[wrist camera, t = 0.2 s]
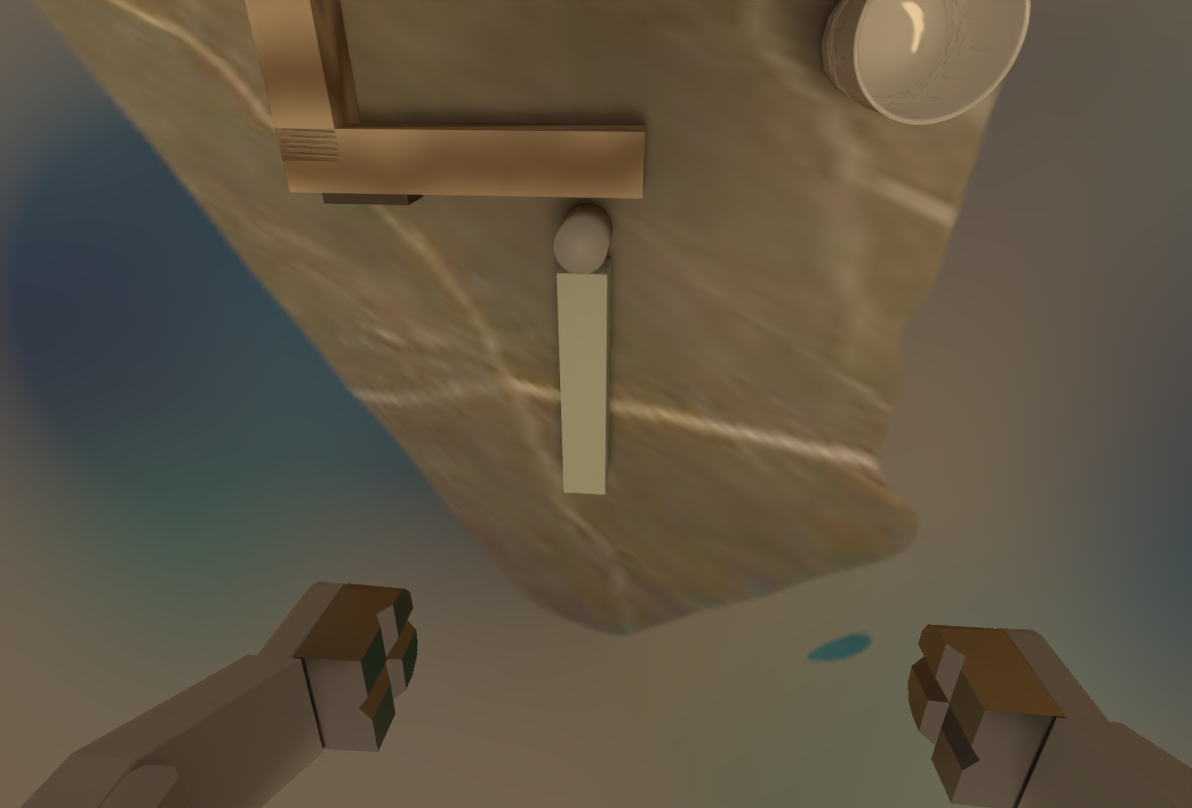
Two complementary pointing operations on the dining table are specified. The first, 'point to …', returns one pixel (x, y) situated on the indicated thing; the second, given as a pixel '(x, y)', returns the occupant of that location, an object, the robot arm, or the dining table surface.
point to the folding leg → (584, 346)
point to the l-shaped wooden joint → (415, 131)
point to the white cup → (922, 53)
